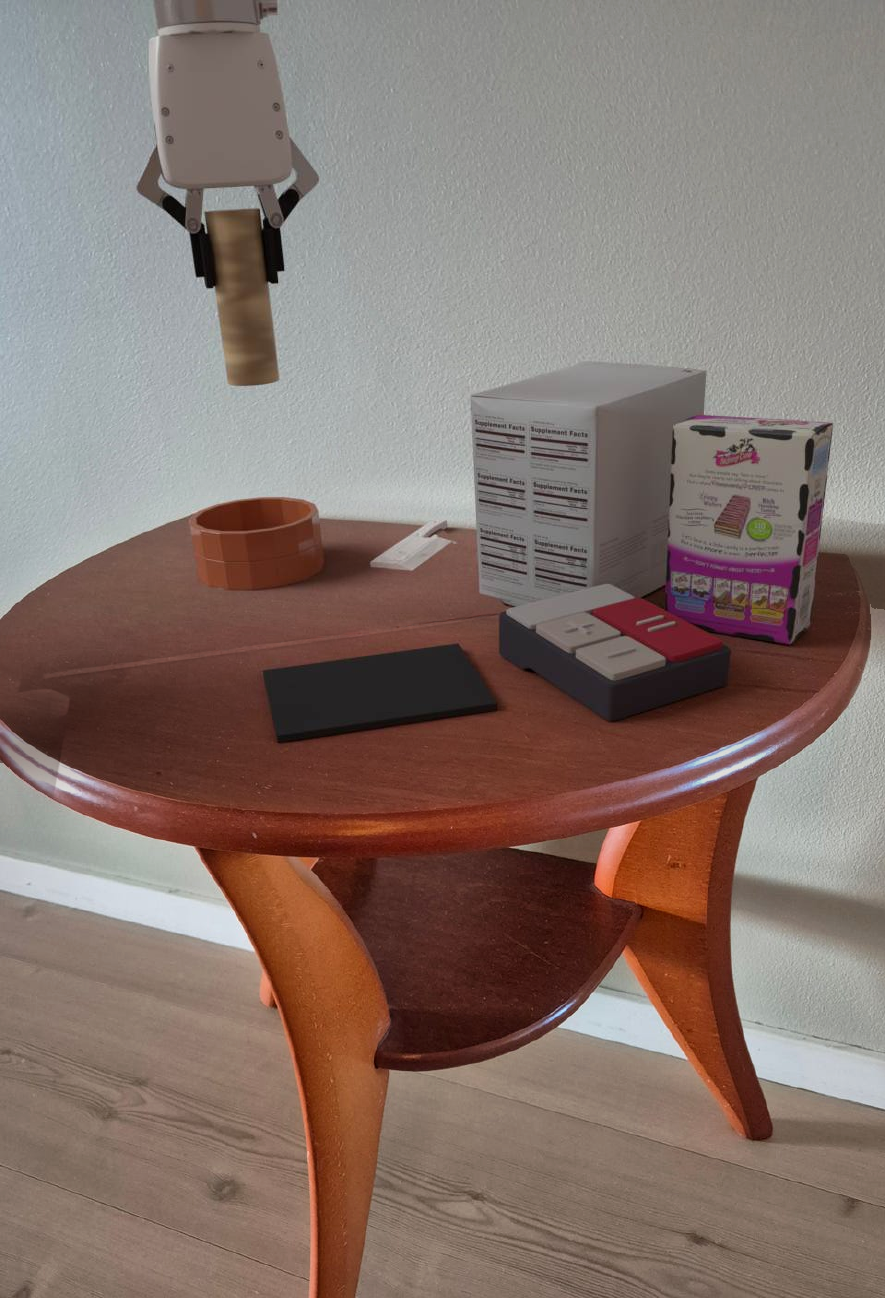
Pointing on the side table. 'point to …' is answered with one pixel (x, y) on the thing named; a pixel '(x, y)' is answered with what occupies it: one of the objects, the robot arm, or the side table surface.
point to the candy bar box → (746, 524)
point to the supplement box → (577, 478)
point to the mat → (374, 692)
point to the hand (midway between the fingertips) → (241, 282)
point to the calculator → (613, 650)
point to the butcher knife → (413, 548)
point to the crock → (257, 543)
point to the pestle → (243, 296)
